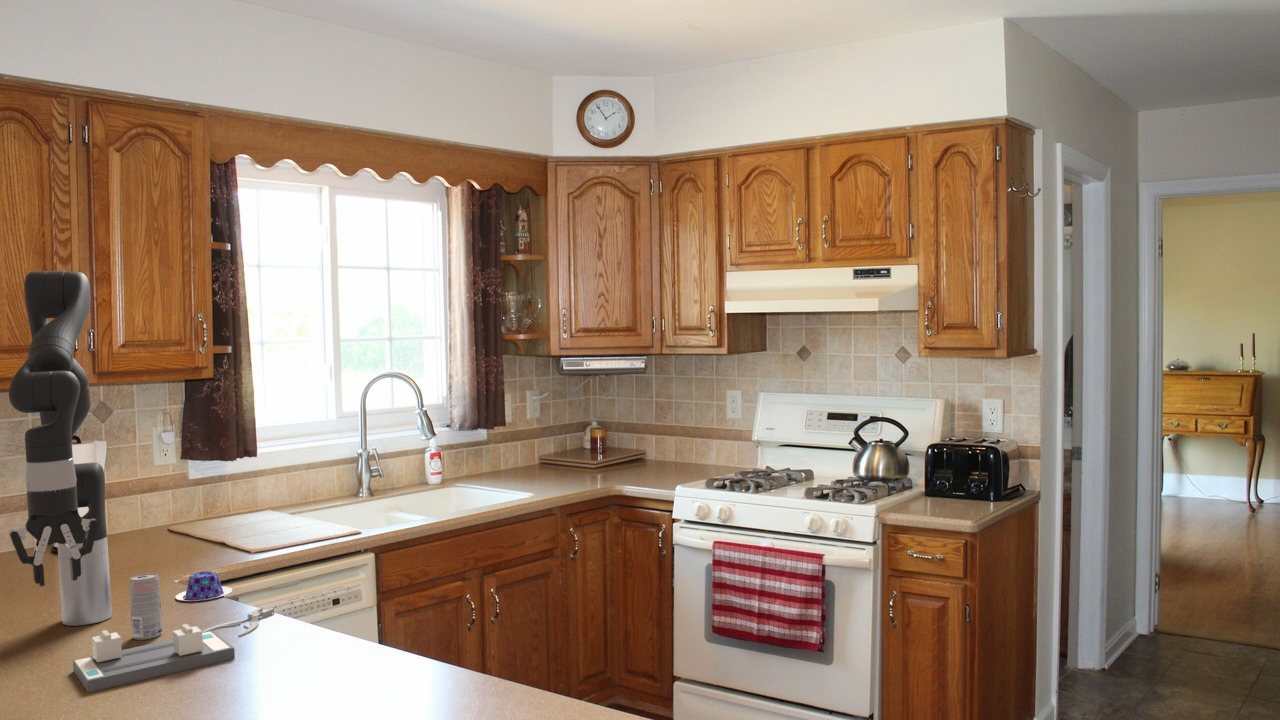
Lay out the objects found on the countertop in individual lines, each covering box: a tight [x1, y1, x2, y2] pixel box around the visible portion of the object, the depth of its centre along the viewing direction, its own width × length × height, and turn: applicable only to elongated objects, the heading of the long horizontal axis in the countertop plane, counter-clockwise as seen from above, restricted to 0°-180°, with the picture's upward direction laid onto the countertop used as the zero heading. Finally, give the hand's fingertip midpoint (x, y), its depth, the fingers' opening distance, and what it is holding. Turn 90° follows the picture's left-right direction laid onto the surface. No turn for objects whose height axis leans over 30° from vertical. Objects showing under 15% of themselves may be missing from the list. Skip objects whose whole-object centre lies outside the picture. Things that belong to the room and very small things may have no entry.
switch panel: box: [72, 630, 236, 694], centre depth 183 cm, size 14×24×2 cm, turn 128°
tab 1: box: [91, 629, 123, 662], centre depth 181 cm, size 4×4×4 cm
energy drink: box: [128, 572, 163, 641], centre depth 200 cm, size 5×5×12 cm
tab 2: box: [172, 623, 203, 656], centre depth 183 cm, size 4×4×4 cm
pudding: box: [175, 570, 233, 602], centre depth 230 cm, size 12×12×5 cm
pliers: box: [201, 606, 275, 638], centre depth 206 cm, size 10×2×15 cm
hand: (57, 582), depth 176 cm, fingers open, 4 cm apart
